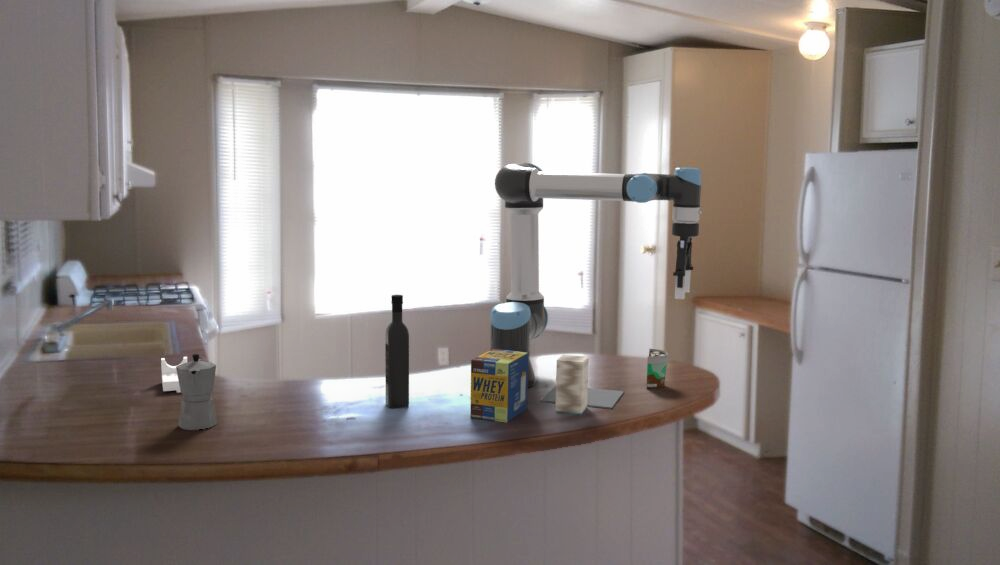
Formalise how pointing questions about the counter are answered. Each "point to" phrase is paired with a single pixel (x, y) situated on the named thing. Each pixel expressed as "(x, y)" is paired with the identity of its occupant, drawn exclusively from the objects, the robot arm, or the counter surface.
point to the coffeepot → (196, 394)
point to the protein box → (499, 385)
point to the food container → (656, 368)
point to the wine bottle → (397, 358)
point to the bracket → (170, 376)
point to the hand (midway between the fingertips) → (682, 295)
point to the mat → (591, 397)
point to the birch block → (571, 384)
